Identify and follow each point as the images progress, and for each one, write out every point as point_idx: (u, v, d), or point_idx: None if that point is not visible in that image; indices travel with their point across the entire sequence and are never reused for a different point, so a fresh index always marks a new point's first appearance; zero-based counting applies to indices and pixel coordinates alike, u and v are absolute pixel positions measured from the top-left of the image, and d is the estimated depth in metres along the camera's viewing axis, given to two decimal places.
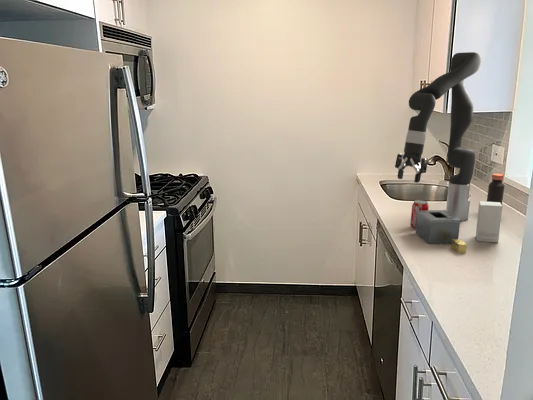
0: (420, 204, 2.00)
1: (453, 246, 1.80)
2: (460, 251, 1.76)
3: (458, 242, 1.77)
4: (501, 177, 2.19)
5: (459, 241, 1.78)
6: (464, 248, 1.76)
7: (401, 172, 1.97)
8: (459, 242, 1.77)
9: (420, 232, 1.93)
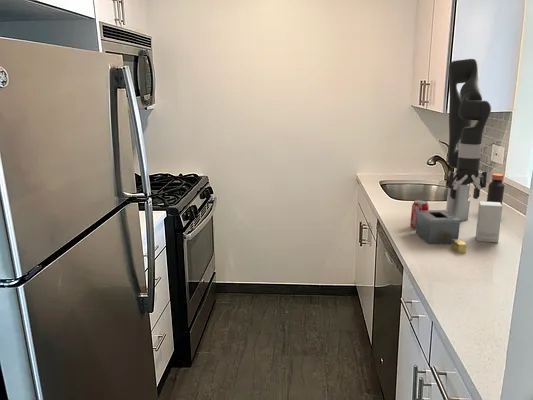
0: (420, 204, 2.00)
1: (453, 246, 1.80)
2: (460, 251, 1.76)
3: (458, 242, 1.77)
4: (501, 177, 2.19)
5: (459, 241, 1.79)
6: (464, 248, 1.76)
7: None
8: (459, 242, 1.77)
9: (420, 232, 1.93)
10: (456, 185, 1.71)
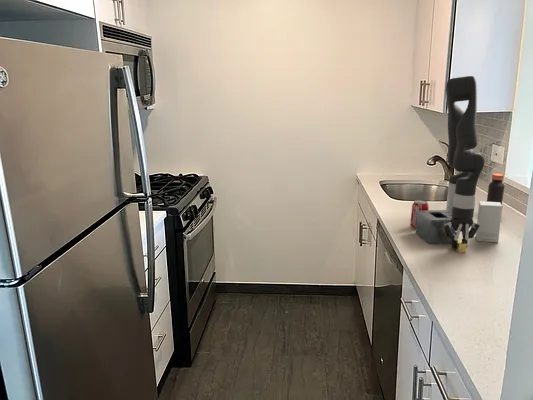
0: (420, 204, 2.00)
1: None
2: (460, 251, 1.76)
3: (458, 241, 1.77)
4: (501, 177, 2.19)
5: (459, 240, 1.79)
6: (464, 247, 1.76)
7: None
8: (459, 242, 1.77)
9: (420, 232, 1.93)
10: (456, 236, 1.76)
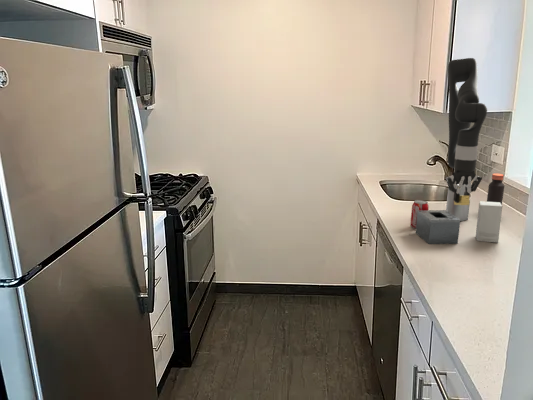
0: (420, 204, 2.00)
1: None
2: (463, 203, 1.73)
3: (460, 195, 1.75)
4: (501, 177, 2.19)
5: (461, 195, 1.77)
6: (467, 199, 1.73)
7: None
8: None
9: (420, 232, 1.93)
10: (458, 189, 1.74)
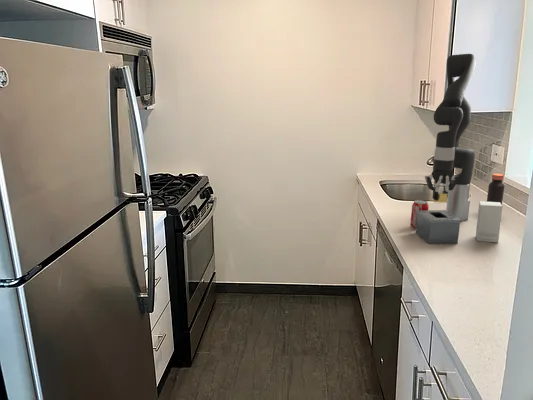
0: (420, 204, 2.00)
1: None
2: (441, 201, 1.85)
3: None
4: (501, 177, 2.19)
5: None
6: (445, 197, 1.85)
7: None
8: None
9: (420, 232, 1.93)
10: (436, 187, 1.86)
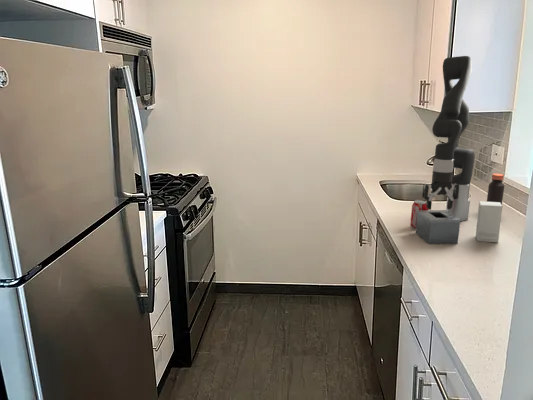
0: (420, 204, 2.00)
1: None
2: None
3: None
4: (501, 177, 2.19)
5: None
6: None
7: None
8: None
9: (420, 232, 1.93)
10: (431, 197, 1.86)
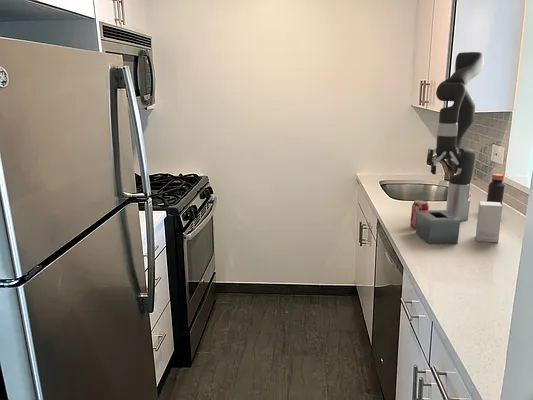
0: (420, 204, 2.00)
1: None
2: None
3: None
4: (501, 177, 2.19)
5: None
6: None
7: None
8: None
9: (420, 232, 1.93)
10: (436, 161, 1.86)
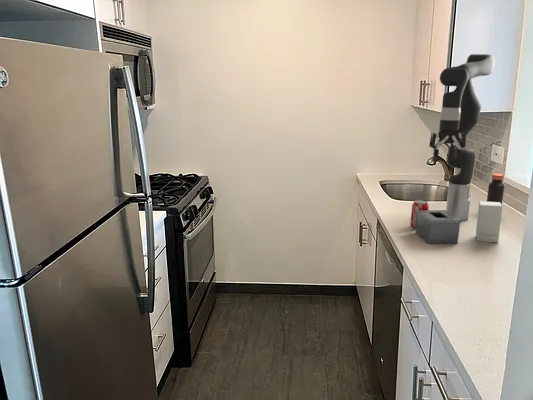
0: (420, 204, 2.00)
1: None
2: None
3: None
4: (501, 177, 2.19)
5: None
6: None
7: None
8: None
9: (420, 232, 1.93)
10: (438, 145, 1.90)
